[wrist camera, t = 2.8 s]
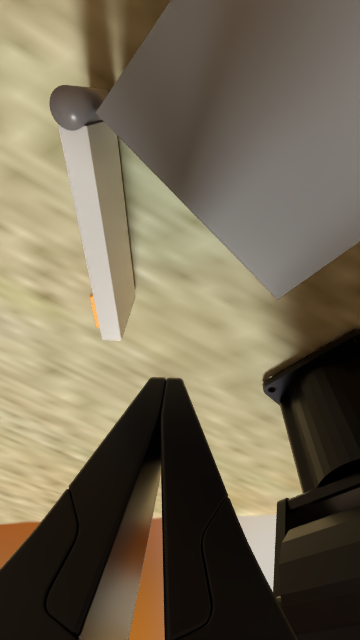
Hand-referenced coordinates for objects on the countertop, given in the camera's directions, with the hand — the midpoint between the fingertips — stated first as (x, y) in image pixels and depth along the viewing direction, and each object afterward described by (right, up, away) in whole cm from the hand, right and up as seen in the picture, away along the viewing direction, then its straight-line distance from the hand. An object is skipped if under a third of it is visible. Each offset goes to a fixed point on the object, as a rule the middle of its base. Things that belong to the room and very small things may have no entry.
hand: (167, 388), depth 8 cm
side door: (-3, +7, +5) cm, 9 cm away
